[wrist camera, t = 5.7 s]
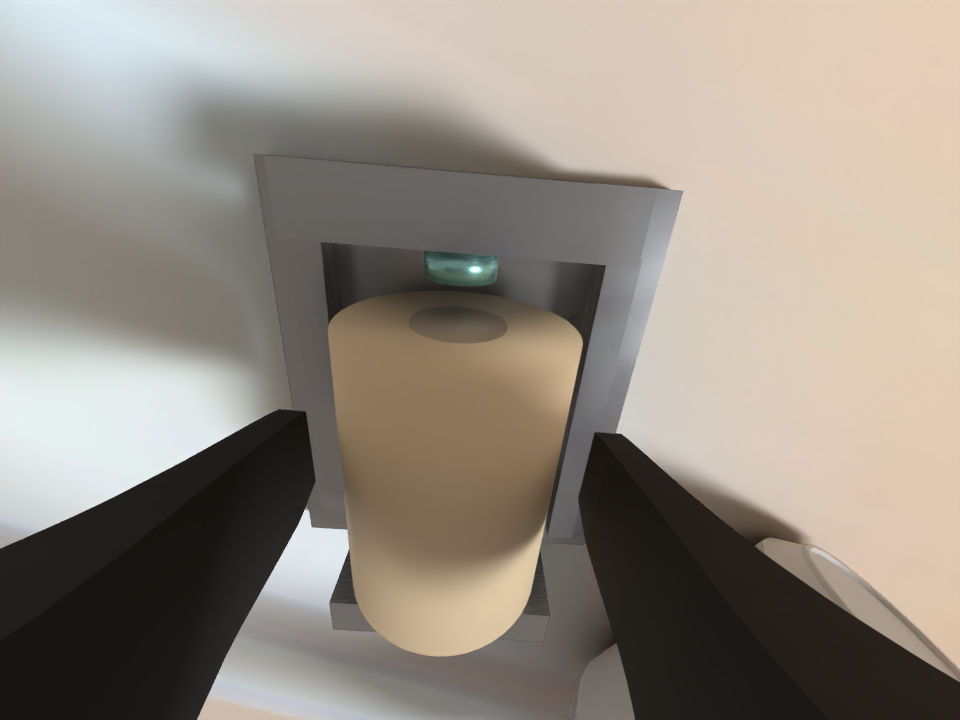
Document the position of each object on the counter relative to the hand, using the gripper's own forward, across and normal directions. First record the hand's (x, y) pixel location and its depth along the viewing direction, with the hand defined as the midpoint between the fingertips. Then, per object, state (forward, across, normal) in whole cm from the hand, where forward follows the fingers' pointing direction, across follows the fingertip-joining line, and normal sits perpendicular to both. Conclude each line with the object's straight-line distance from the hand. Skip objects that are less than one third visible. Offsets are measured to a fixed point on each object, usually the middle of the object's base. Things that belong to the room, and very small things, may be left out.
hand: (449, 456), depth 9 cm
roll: (+2, +1, 0) cm, 3 cm away
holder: (+3, 0, 0) cm, 3 cm away
